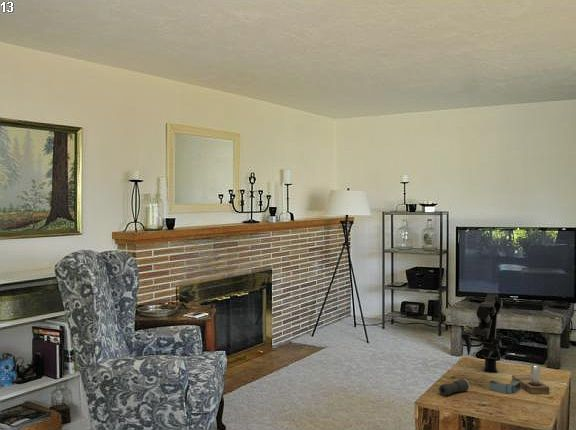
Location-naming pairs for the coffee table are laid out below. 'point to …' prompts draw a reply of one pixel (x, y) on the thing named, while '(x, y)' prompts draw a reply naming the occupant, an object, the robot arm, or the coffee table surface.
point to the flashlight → (454, 387)
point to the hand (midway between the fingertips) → (477, 356)
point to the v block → (505, 387)
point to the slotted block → (526, 384)
